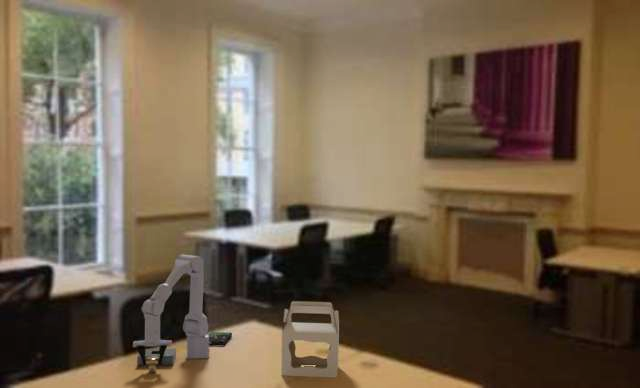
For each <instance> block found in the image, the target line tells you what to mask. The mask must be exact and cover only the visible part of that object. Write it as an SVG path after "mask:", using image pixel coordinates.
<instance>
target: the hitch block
mask: <svg viewBox="0 0 640 388" xmlns="http://www.w3.org/2000/svg"><path fill="white" fill-rule="evenodd" d="M152 356H156V357H159V358H160V353H159V348H146V353H145V357H146V358H147V357H152ZM176 357H177V349H176V348H166V350H165V352H164V355H163V359H162V364H161V365H159V363H158V364H156V367H168V366H169V367H170V366H171V367H173V366H174V364H175V361H176ZM136 359H137V361H136V362H137V363H136V364H137V365H136V366H137V367H149V365H148V364H145V366H143V363H142V359H141V356H140V354H139V353H138V354H137V358H136Z"/></svg>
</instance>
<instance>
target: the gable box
mask: <svg viewBox="0 0 640 388" xmlns="http://www.w3.org/2000/svg"><path fill="white" fill-rule="evenodd" d="M292 314H321V315H322V314H324V315H330V319H331V322H329V323H328V322H306V321H305V322H304V321H303V322H302V321H301V322H297V321H292ZM339 333H340V318H339V309H338V310H335V309H334V307H333V303H332V302H331V301H305V300H304V301H303V300H302V301H300V300H292V301H291V302H290V307H289V309H288V308H284V311H283V327H282V331H281V376H285V377H286V376H288V377H312V378H313V377H314V378H333V379H336V378H338V373H339V353H340V352H339V347H340V346H339V345H340V343H339V342H340V341H339V340H340V334H339ZM295 341H302V342H303V341H304V342H308V343H309V342H310V343H318V342H322V343H323V342H325V343H328V344H329V348H328V354H327V358H322V357H321V356H320V357H319V356H315V355H306V356H301V357H300V356H299V357H298V356H297V355H296V343H295ZM301 365H316V366H315V367H313V366H304V367H301Z"/></svg>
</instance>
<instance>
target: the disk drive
mask: <svg viewBox="0 0 640 388" xmlns="http://www.w3.org/2000/svg"><path fill="white" fill-rule="evenodd" d="M208 335H209V346H211V345H223V346H222V347H225V346H226V344H227V343H228V342H229V341H230V340H231V339H232V338H231V337H233V333H232V332H225V331H220V332H215V331H212V332H210V333H208ZM230 338H231V339H230ZM229 339H230V340H229ZM228 340H229V341H228ZM227 341H228V342H227Z"/></svg>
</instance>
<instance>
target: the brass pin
mask: <svg viewBox="0 0 640 388" xmlns="http://www.w3.org/2000/svg"><path fill="white" fill-rule="evenodd" d="M159 359H160V358H159V357H156V356H152V357H147V358H145V364H148V365H149V366H148V373H149V374H155V373H156V372H157V366H156V364H158V363H159Z"/></svg>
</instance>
